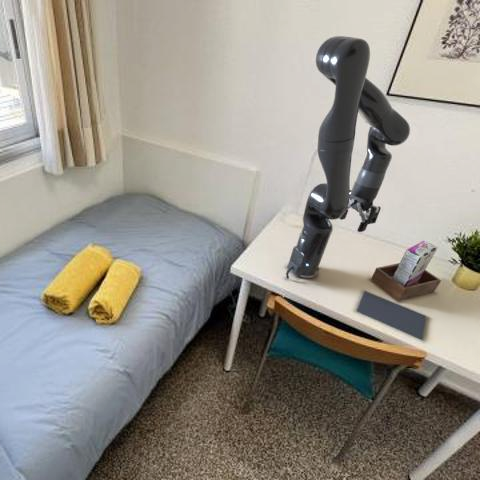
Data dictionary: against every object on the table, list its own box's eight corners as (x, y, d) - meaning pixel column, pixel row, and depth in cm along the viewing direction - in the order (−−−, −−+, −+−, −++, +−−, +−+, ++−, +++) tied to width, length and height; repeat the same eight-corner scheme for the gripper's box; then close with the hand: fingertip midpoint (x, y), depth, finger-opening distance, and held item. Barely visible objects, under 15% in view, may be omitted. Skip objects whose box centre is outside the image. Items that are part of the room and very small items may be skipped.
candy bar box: (402, 277, 127) (423, 239, 118) (416, 285, 123) (439, 247, 114) (385, 287, 121) (406, 248, 112) (400, 295, 118) (422, 256, 109)
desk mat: (421, 339, 102) (422, 338, 102) (356, 311, 111) (356, 310, 110) (425, 316, 110) (426, 315, 110) (364, 291, 119) (364, 290, 119)
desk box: (397, 301, 115) (405, 289, 112) (370, 279, 124) (376, 267, 121) (433, 292, 120) (441, 280, 117) (404, 272, 129) (411, 260, 126)
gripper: (342, 174, 116) (327, 216, 125) (377, 192, 105) (358, 237, 114) (360, 172, 119) (344, 214, 128) (395, 190, 107) (375, 234, 116)
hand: (350, 225), depth 121 cm, fingers open, 8 cm apart
